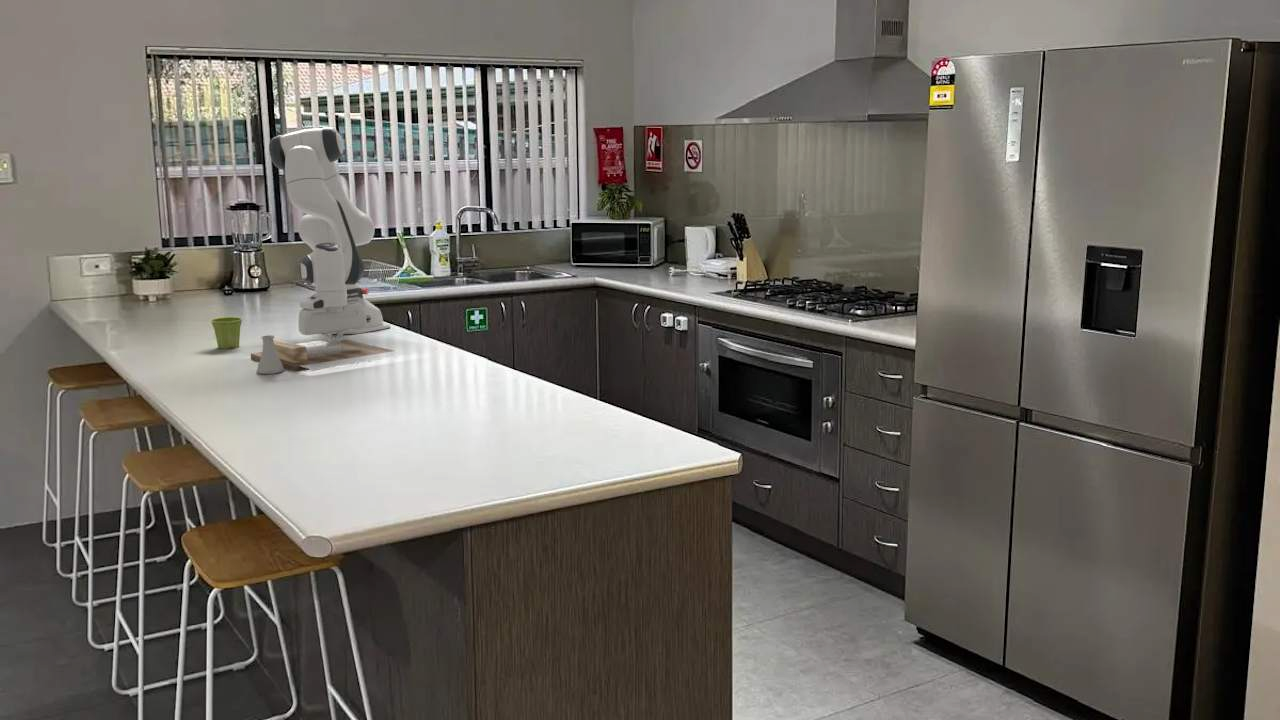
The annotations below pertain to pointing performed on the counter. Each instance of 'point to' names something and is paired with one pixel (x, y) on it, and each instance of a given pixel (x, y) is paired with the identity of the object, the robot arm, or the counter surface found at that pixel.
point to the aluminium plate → (320, 348)
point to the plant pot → (227, 331)
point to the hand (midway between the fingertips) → (334, 346)
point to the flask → (269, 358)
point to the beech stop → (290, 351)
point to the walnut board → (347, 351)
